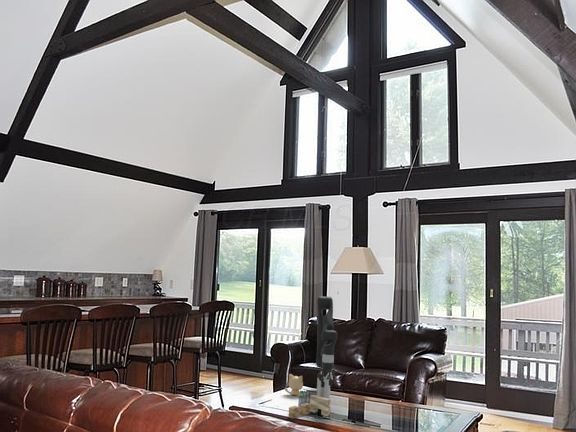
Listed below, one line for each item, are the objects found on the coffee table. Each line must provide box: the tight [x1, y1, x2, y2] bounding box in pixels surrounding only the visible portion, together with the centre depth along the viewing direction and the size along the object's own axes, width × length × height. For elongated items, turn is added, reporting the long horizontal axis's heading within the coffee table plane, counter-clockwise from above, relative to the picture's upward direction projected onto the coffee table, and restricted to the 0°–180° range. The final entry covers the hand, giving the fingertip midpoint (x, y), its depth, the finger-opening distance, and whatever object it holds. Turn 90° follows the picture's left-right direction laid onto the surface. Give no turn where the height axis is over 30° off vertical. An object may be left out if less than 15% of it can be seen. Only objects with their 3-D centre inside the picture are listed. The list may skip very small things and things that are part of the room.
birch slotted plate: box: [309, 394, 331, 417], centre depth 338 cm, size 4×14×10 cm, turn 51°
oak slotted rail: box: [287, 402, 311, 419], centre depth 329 cm, size 18×4×6 cm, turn 141°
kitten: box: [284, 373, 306, 398], centre depth 383 cm, size 15×10×15 cm
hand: (326, 386), depth 336 cm, fingers open, 8 cm apart
